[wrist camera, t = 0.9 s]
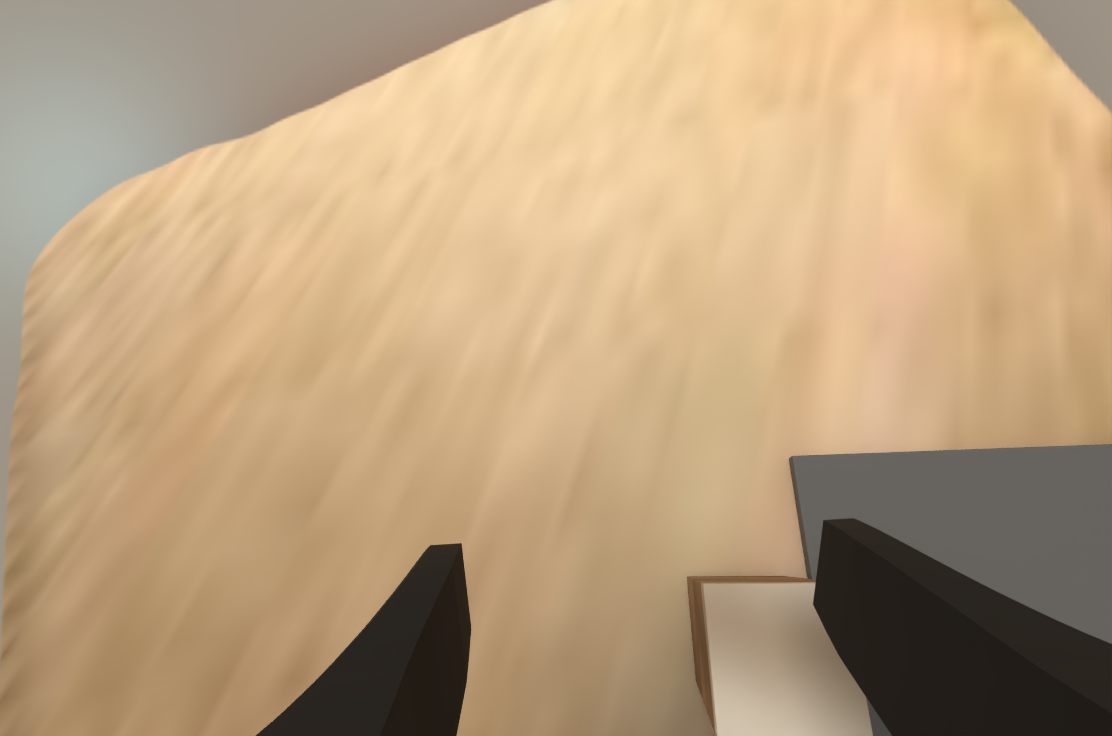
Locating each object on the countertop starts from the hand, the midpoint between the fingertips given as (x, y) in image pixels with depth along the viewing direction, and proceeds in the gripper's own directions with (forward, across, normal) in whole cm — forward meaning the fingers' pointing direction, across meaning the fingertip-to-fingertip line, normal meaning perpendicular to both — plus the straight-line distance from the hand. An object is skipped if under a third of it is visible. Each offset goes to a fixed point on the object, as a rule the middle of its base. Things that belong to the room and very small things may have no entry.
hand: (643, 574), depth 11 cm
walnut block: (+9, -6, +10) cm, 15 cm away
